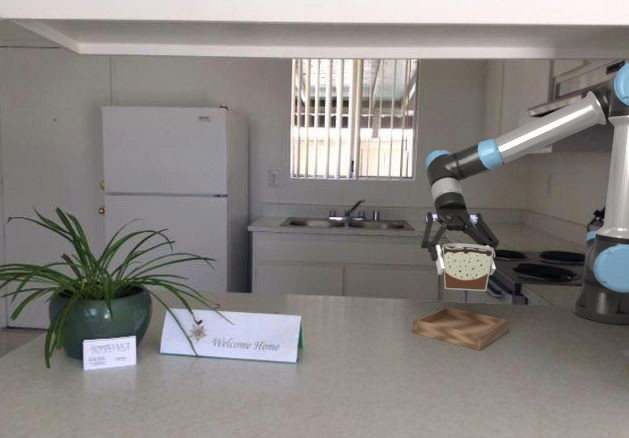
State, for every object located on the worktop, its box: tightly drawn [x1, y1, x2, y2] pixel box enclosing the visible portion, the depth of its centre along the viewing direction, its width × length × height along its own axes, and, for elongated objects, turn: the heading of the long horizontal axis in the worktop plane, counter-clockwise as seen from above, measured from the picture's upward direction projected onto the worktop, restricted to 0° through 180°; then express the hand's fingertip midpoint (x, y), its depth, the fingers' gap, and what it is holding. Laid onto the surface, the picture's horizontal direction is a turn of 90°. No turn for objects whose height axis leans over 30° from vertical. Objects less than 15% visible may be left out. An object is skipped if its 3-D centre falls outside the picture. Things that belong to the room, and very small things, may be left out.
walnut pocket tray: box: [412, 306, 509, 351], centre depth 119 cm, size 16×16×3 cm
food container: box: [440, 242, 496, 292], centre depth 118 cm, size 12×6×10 cm, turn 86°
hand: (467, 271), depth 115 cm, fingers closed on food container, 11 cm apart
